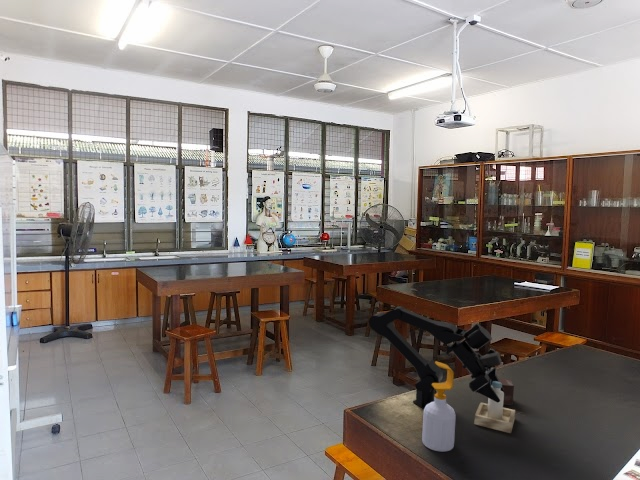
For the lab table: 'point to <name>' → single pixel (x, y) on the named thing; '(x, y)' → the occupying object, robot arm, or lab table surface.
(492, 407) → the reagent bottle
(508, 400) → the box
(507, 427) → the oak tray
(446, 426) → the soap bottle
